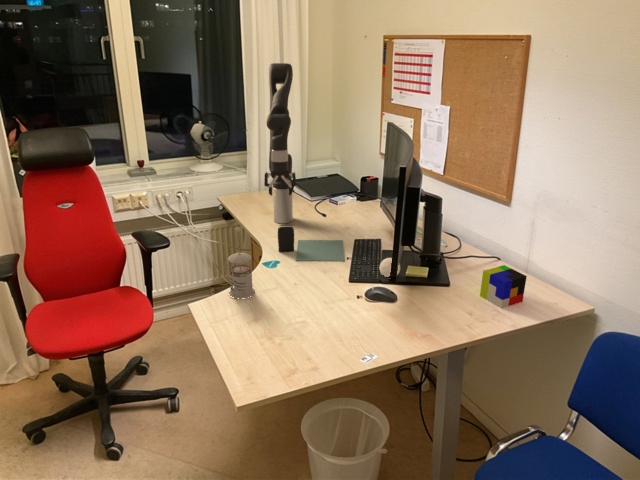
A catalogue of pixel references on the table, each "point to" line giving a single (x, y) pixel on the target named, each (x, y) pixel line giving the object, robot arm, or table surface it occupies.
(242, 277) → the french press
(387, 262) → the geometric ball
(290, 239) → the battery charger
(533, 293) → the table surface
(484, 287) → the puzzle toy
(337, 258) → the mat
